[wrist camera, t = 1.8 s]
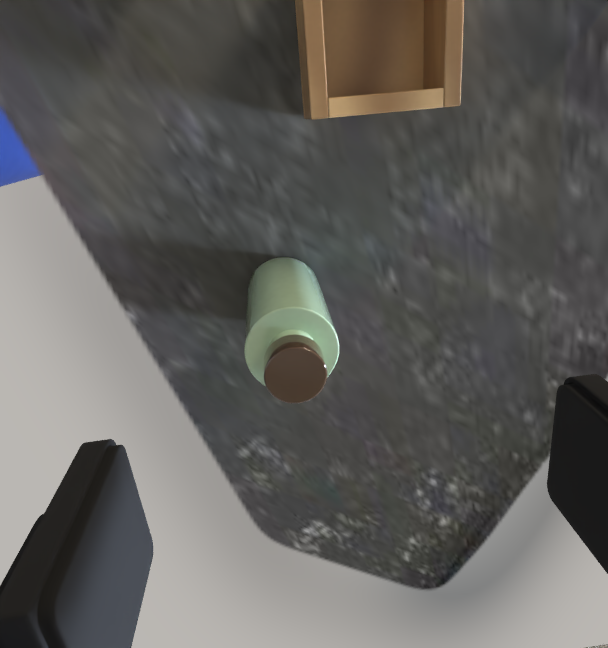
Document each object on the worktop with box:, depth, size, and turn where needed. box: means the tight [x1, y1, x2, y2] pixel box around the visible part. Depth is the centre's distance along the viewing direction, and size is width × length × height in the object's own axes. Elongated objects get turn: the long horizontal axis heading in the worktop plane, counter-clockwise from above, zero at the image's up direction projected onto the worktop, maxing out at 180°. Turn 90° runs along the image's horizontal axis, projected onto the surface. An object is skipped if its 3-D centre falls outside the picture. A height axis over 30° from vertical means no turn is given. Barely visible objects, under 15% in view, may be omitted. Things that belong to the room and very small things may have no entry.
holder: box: [295, 0, 464, 119], centre depth 25 cm, size 8×8×4 cm
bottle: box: [244, 257, 339, 403], centre depth 27 cm, size 5×5×12 cm
